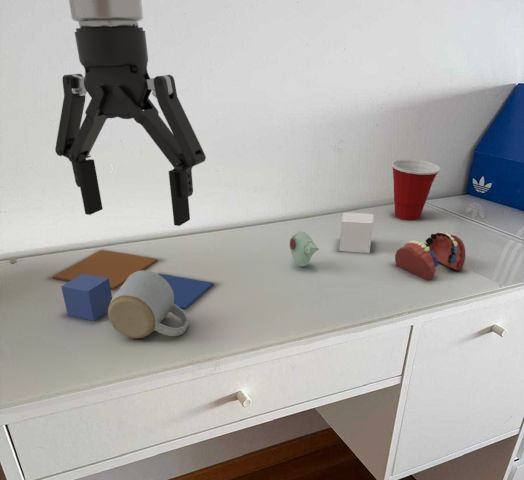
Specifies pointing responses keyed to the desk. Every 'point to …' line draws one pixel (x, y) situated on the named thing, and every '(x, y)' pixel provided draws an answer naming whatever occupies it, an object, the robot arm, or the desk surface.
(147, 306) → the ceramic mug
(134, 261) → the cork mat
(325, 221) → the desk surface
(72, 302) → the blue block
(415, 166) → the plastic cup
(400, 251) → the teeth model
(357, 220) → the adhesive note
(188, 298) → the blue mat
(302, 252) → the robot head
